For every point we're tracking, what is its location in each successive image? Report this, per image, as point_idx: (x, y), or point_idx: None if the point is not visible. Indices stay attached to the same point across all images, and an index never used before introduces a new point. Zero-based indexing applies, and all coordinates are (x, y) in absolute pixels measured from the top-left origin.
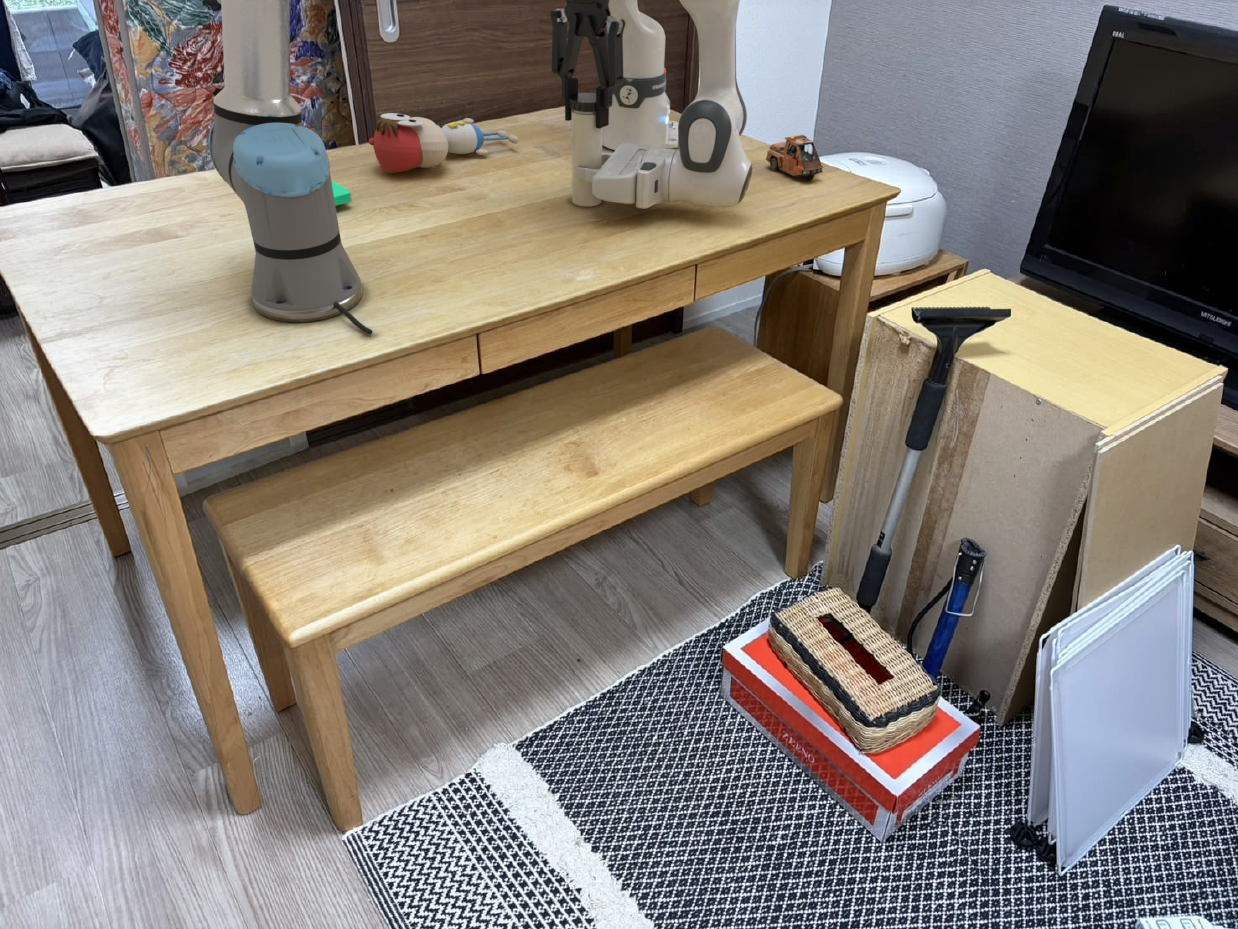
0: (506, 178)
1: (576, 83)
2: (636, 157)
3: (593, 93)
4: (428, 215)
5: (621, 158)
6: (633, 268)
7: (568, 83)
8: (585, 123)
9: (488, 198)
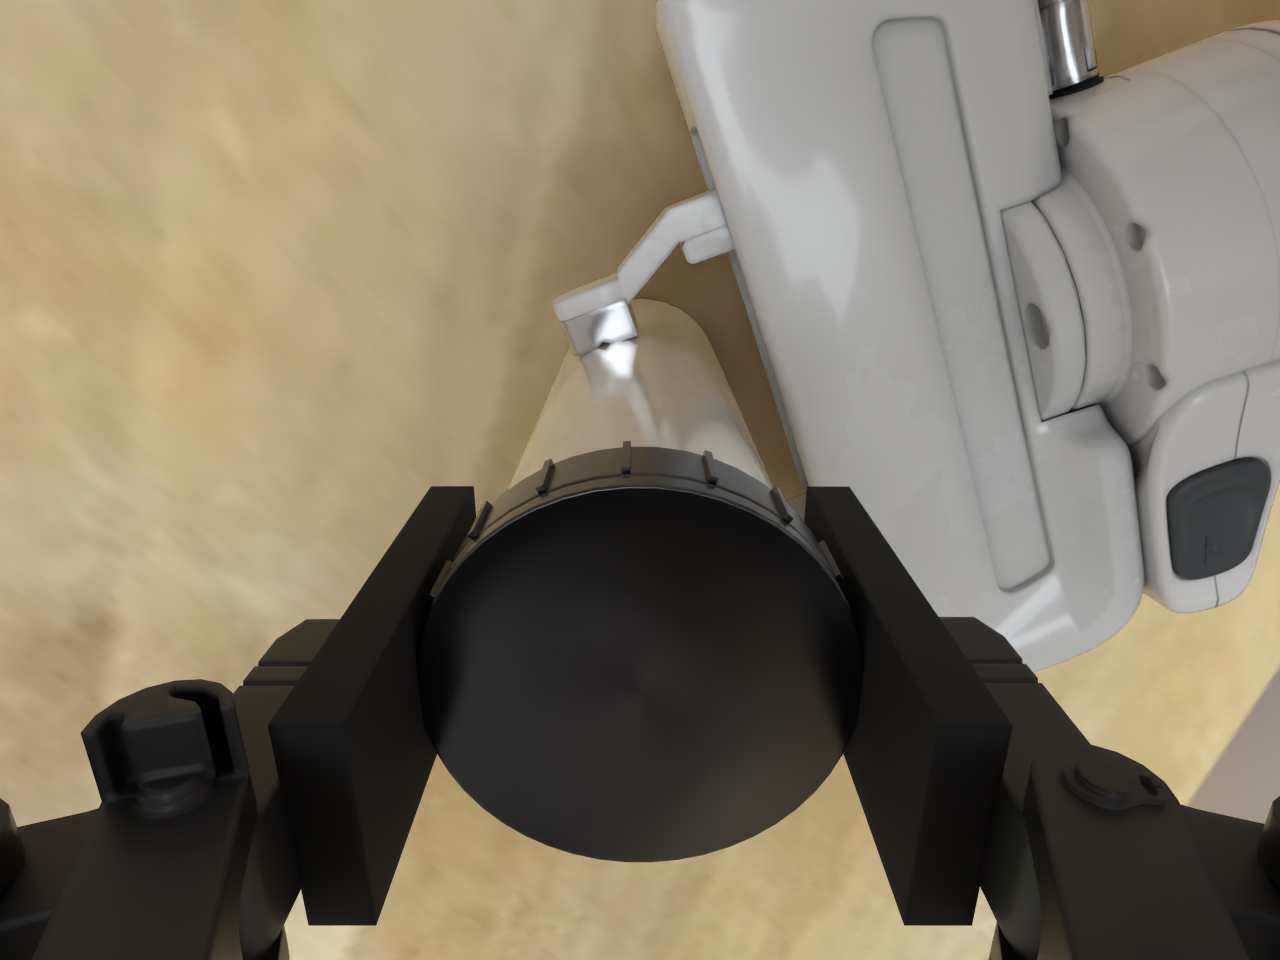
0: (103, 386)
1: (374, 715)
2: (938, 217)
3: (585, 500)
4: None
5: (872, 340)
6: (1169, 786)
7: (384, 897)
8: None
9: (270, 628)
